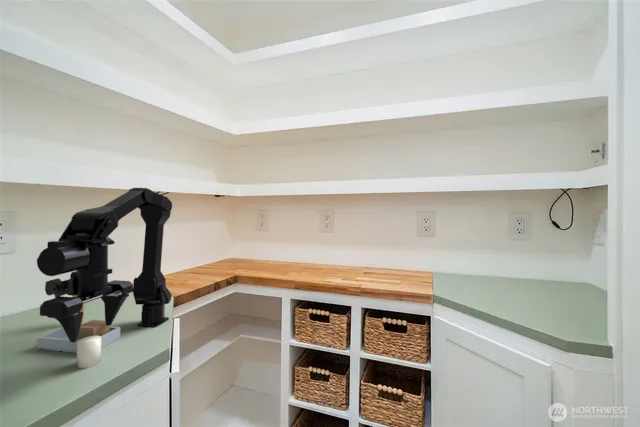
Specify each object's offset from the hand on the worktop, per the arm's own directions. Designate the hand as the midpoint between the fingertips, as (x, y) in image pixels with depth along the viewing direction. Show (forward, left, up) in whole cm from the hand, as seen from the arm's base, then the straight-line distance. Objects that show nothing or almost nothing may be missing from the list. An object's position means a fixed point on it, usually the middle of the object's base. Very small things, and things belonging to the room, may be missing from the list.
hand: (92, 333), depth 68 cm
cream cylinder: (0, 0, -7) cm, 7 cm away
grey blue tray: (-8, -11, -7) cm, 15 cm away
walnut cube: (-8, -7, -6) cm, 12 cm away
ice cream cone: (-20, -23, -7) cm, 31 cm away
